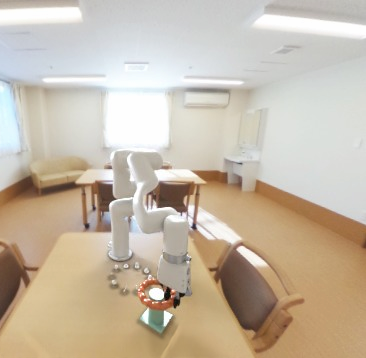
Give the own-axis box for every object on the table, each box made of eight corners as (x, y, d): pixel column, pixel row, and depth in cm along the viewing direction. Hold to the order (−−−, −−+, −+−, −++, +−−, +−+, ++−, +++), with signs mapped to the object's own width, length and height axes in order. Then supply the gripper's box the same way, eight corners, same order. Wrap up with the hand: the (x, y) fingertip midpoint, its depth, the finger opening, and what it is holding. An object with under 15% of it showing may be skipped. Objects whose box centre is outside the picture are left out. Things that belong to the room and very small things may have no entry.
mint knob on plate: (138, 321, 75) (139, 295, 73) (151, 305, 82) (152, 281, 80) (161, 336, 70) (162, 308, 67) (172, 317, 77) (174, 291, 74)
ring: (130, 298, 72) (130, 293, 72) (150, 277, 83) (150, 272, 82) (165, 319, 64) (166, 313, 64) (183, 293, 75) (183, 287, 74)
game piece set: (115, 299, 85) (114, 291, 84) (106, 268, 104) (106, 261, 103) (159, 289, 90) (159, 282, 89) (143, 262, 109) (143, 255, 108)
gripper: (204, 258, 64) (199, 308, 69) (157, 241, 74) (156, 286, 78) (195, 270, 58) (191, 324, 63) (146, 251, 68) (145, 299, 72)
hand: (171, 302), depth 70 cm, fingers closed on ring, 2 cm apart
